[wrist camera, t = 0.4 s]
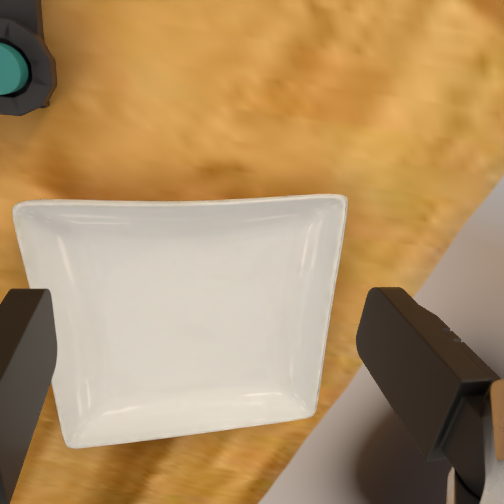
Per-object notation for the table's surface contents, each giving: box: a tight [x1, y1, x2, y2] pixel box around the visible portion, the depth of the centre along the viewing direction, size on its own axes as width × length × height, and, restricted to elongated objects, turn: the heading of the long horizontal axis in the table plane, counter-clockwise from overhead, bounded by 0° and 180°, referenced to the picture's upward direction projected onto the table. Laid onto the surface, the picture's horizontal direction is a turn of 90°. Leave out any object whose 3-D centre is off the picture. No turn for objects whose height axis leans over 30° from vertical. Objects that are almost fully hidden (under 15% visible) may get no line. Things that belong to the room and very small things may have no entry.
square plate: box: [12, 194, 348, 448], centre depth 40 cm, size 27×27×4 cm
